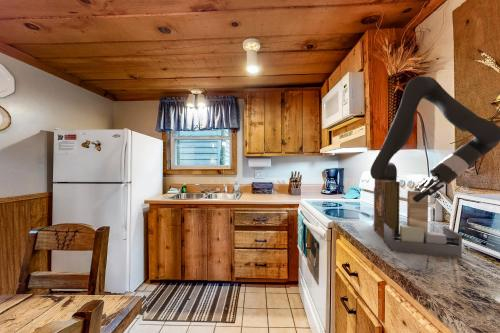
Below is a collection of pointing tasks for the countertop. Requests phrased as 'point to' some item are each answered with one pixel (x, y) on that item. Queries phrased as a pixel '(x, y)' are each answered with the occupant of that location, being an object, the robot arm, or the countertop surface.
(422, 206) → the birch board
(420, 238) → the sage offcut
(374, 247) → the countertop surface
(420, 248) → the rack
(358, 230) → the countertop surface
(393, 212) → the book
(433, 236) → the pale grey block
